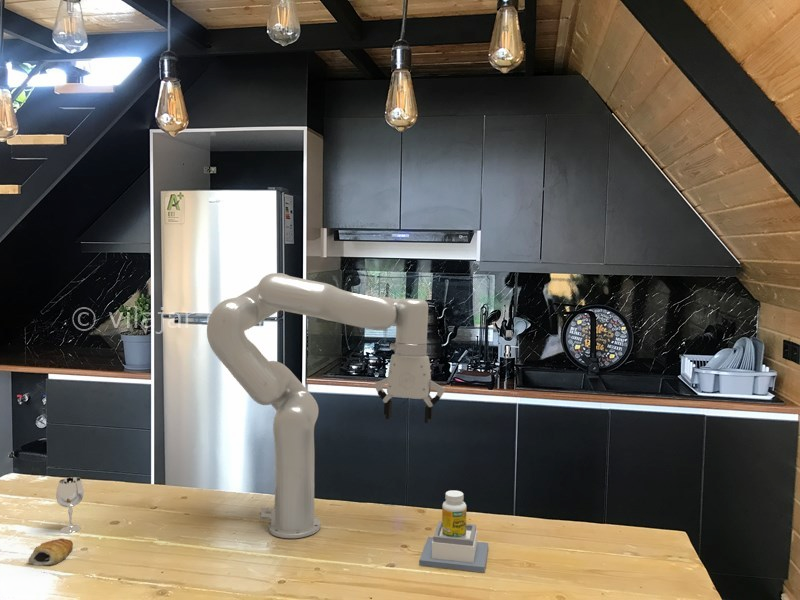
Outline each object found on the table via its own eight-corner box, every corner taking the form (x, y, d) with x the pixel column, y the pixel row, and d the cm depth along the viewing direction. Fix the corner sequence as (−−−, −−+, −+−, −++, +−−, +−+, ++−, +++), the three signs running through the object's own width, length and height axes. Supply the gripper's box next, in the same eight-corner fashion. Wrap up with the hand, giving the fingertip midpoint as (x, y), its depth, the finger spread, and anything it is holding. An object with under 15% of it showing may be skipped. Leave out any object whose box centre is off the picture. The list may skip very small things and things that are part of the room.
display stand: (419, 565, 135) (419, 538, 135) (427, 541, 147) (428, 517, 147) (484, 572, 133) (485, 545, 132) (488, 547, 144) (488, 522, 144)
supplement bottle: (455, 528, 143) (456, 487, 143) (471, 537, 139) (471, 494, 138) (437, 534, 140) (437, 491, 140) (452, 543, 136) (452, 499, 135)
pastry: (52, 546, 143) (52, 530, 142) (81, 548, 142) (81, 531, 142) (26, 566, 133) (25, 549, 133) (56, 568, 133) (56, 550, 133)
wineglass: (82, 532, 150) (82, 483, 149) (55, 535, 148) (54, 485, 147) (85, 523, 155) (84, 475, 154) (58, 526, 153) (57, 477, 152)
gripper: (372, 349, 150) (369, 420, 151) (443, 354, 146) (440, 427, 147) (380, 345, 157) (377, 413, 158) (448, 350, 153) (445, 420, 154)
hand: (407, 420), depth 153 cm, fingers open, 9 cm apart
